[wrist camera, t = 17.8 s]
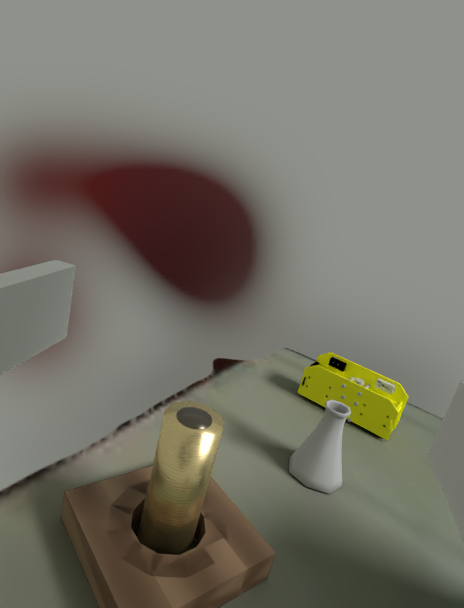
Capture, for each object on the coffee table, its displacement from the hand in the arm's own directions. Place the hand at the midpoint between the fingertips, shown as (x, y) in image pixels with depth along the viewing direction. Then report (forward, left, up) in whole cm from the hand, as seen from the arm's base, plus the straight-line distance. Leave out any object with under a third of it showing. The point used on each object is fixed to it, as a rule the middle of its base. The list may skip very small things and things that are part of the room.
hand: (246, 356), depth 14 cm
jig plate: (-10, -14, -28) cm, 33 cm away
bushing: (-10, -14, -28) cm, 33 cm away
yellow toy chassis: (-51, -23, -28) cm, 63 cm away
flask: (-33, -15, -28) cm, 46 cm away
